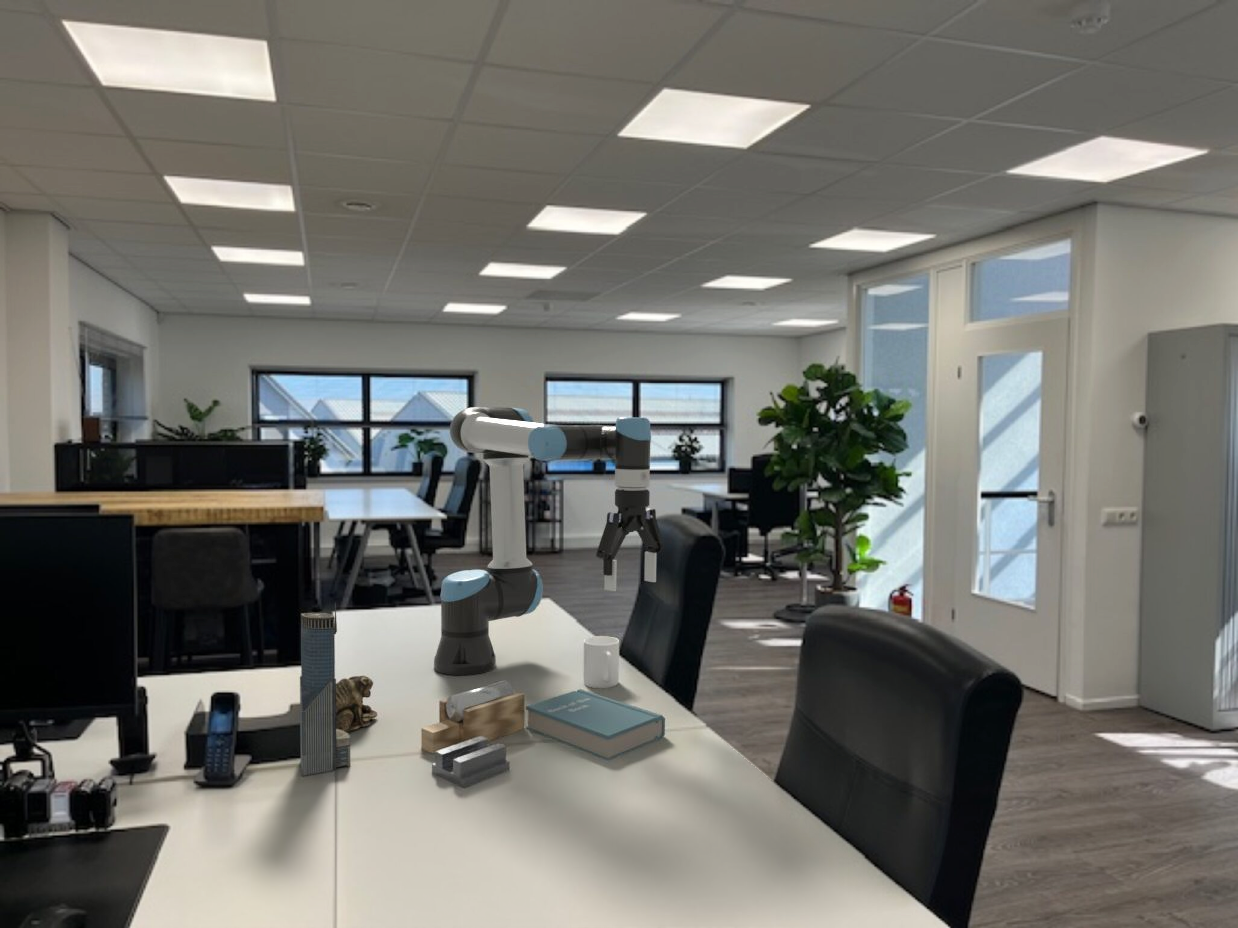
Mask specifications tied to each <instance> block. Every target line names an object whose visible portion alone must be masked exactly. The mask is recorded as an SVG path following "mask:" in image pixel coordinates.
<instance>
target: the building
mask: <svg viewBox="0 0 1238 928" xmlns="http://www.w3.org/2000/svg"><path fill="white" fill-rule="evenodd" d="M336 604H337V603H336V602H335V603H334V615H333V614H331V613H326V612H307V613H306V612H304V613H300V656H301V657H300V658H301V659H300V662H301V663H300V666H301V667H300V669H301V673H300V674H301V675H299V700H300V701H299V706H300V707H299V711H300V712H299V714H300V717H299V718H300V720H299V722H300V725H299V726H300V727H299V729H300V736H299V737H300V768H301V777H307V776H312V775H313V776H314V775H318V774H323V773H329V772H333V771H335V770H337V769H342V768H343V769H344V768H350V767H351V736H350V734H349V733H348V732H347V731H343V730H339V729H336V683H337V678H335V673H336V672H335V670H336V669H335V668H336V666H335V665H336V664H335V663H336V661H335V657H336V655H335V653H336V652H335V647H336V646H335V635H336V634H337V632H338V627H337V625H338V623H337V606H336Z"/></svg>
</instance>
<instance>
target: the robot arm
mask: <svg viewBox="0 0 1238 928" xmlns="http://www.w3.org/2000/svg"><path fill="white" fill-rule="evenodd" d="M449 434H450V435H449V437H450V439H451V441H452V443H453V444H454V445H455V447H457V448H459V449H460V451H461V450H462V451H463V452H466V453H473V454H482V455H483V456H482V457H483V462H485V464H487V465H488V467H489V485H490V486H489V487H490V490H489V491H490V507H491V508H490V511H491V512H490V513H491V539H492V540H491V541H492V560H491V561H490V562H489V564H488V565H487V571H486V570H485V569H471V570H467V569H466V570H460V571H456V572H454V573H451V574H449V575H447V576H445V577H444V579H443V580H442V583H441V587H440V589H441V591H440V600H441V601H440V602H441V603H440V605H441V606H440V607H441V608H440V609H441V610H440V612H441V613H440V614H441V615H440V619H441V620H440V625H441V626H440V629H441V630H440V633H441V635H440V640H439V643H438V645H437V649H436V653H435V656H434V658H433V669H434V670H435V671H437V672H439V673H441V674H443V675H444V674H446V675H452V676H453V675H454V676H468V675H477V674H481V673H486V672H489V671H491V670H493V669H494V668H495V667H496V666H497V663H496V661H497V659H496V658H497V657H496V653H495V651H494V646H493V644H492V641H491V639H490V638H491V637H490V634H489V629H490V628H489V627H490V625H489V624H490V623H489V622H492V621H496V620H497V621H498V620H502V619H508V618H514V617H516V618H518V617H519V618H520V617H522V616H525V615H528V614H531V613H533V612H534V611H535V610H537V607H539V605H540V604H541V601H542V599H543V598H542V597H543V594H544V586H543V580H542V578H541V575H540V574H539V572H538V571H537V570H536V569H533V565H534V564H533V562H532V561H531V560H529V559H528V557H527V542H526V538H527V537H526V515H525V513H526V512H525V511H526V510H525V488H524V487H525V486H524V485H525V484H524V464H525V463H527V461H528V460H529V457H533V458H534V459H535V460H538V461H545V462H554V461H570V460H572V461H573V460H575V461H576V460H578V461H579V460H612V461H614V460H615V466H614V467H615V469H614V486H615V487H616V489H615V491H614V505H615V506H616V507H617V512H607V515H606V523H605V526H604V530H603V532H602V535H601V539H600V541H599V545H598V547H597V551H596V554H595V555H596V557H597V558H599V559H600V560H603V565H602V566H603V568H602V569H603V575H604V585H603V586H604V591H605V590H606V591H610V592H616V591H617V580H618V579H617V577H618V576H617V571H618V570H617V566H618V560H617V559H615V558H616V555H617V554H618V552H619V550H620V547H621V546H622V544H623V542H624V541H625V539H626V537H627V536H628V535H629V534H630V533H633V532H637V534H638V536H639V538H640V539H641V541H642V543H643V545H644V546H645V548H646V550H647V551H645V552H644V581H645V582H649V583H656V582H657V566H658V553H659V554H661V553H662V549H664V548H665V544H664V540H663V537H662V533H661V530H660V527H659V524H658V521H657V516H656V514H657V513H656V509H655V508H651V507H649V506H650V498H651V497H650V496H651V495H650V490H649V489H648V488H649V487H650V479H651V478H650V475H651V474H650V471H651V470H650V469H651V466H650V465H651V442H652V441H651V439H652V435H651V434H652V433H651V422H650V420H649V418H647V417H637V416H636V417H629V416H627V417H625V416H621V417H617V418H616V420H615V425H602V424H590V425H589V424H588V425H587V424H586V425H567V424H566V425H565V424H563V425H562V424H561V425H560V424H549V423H539V422H535V420H534V418H533V417H532V416H531V415H530V414H529V412H528V411H526V410H524V409H522V408H516V407H509V406H508V407H490V406H489V407H487V406H486V407H483V406H482V407H481V406H473V407H468V408H465V409H462V410H460V411H459V412H457V413H456V415H455V416H454V417H453V418H452V420H451V422H450V426H449Z"/></svg>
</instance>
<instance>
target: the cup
mask: <svg viewBox="0 0 1238 928" xmlns="http://www.w3.org/2000/svg"><path fill="white" fill-rule="evenodd" d="M582 677H583V682H584V685H586V686H587V687H589V688H593V689H609V688H614V687H615V686H616V687H617V685H618V684H619V679H620V678H619V677H620V640H619V638H617V637H612V636H606V635H599V636H598V635H597V636H595V635H594V636H589V637H587V638H585V639H583V676H582Z"/></svg>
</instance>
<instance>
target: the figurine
mask: <svg viewBox="0 0 1238 928" xmlns="http://www.w3.org/2000/svg"><path fill="white" fill-rule="evenodd" d="M373 685H374V682H373V680H372V678H369V677H368V676H366V675H359V676H357V675H356V676H355V675H353V676H350V677H349V678H344V677H343V678H341V679H340V680H339V681H337V682H336V729H339V730H343V731H345V732H347V731H353V730H358V729H359V728H361V727H366V726H369V725H370V724H371V722H370V721H371V720H373V719H375V718H377V716H378V715H379V714H378V712H377V711H376V710H372V708H371V706H370V705H369V704H368V705H366V704H364V698H366V699H367V698H368V699H369V698H370V697H371V694H372V691H371V690H372V687H373Z"/></svg>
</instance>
